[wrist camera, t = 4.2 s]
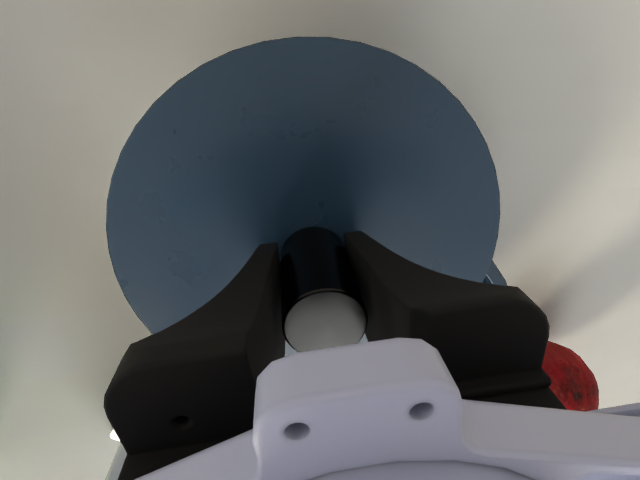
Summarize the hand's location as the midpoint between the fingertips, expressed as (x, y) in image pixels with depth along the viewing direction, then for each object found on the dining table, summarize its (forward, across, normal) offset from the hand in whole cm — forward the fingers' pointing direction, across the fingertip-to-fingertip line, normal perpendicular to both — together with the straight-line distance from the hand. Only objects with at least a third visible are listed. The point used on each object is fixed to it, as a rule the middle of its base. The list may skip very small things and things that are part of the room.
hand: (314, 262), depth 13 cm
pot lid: (+1, 0, 0) cm, 1 cm away
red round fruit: (+11, -16, +17) cm, 26 cm away
